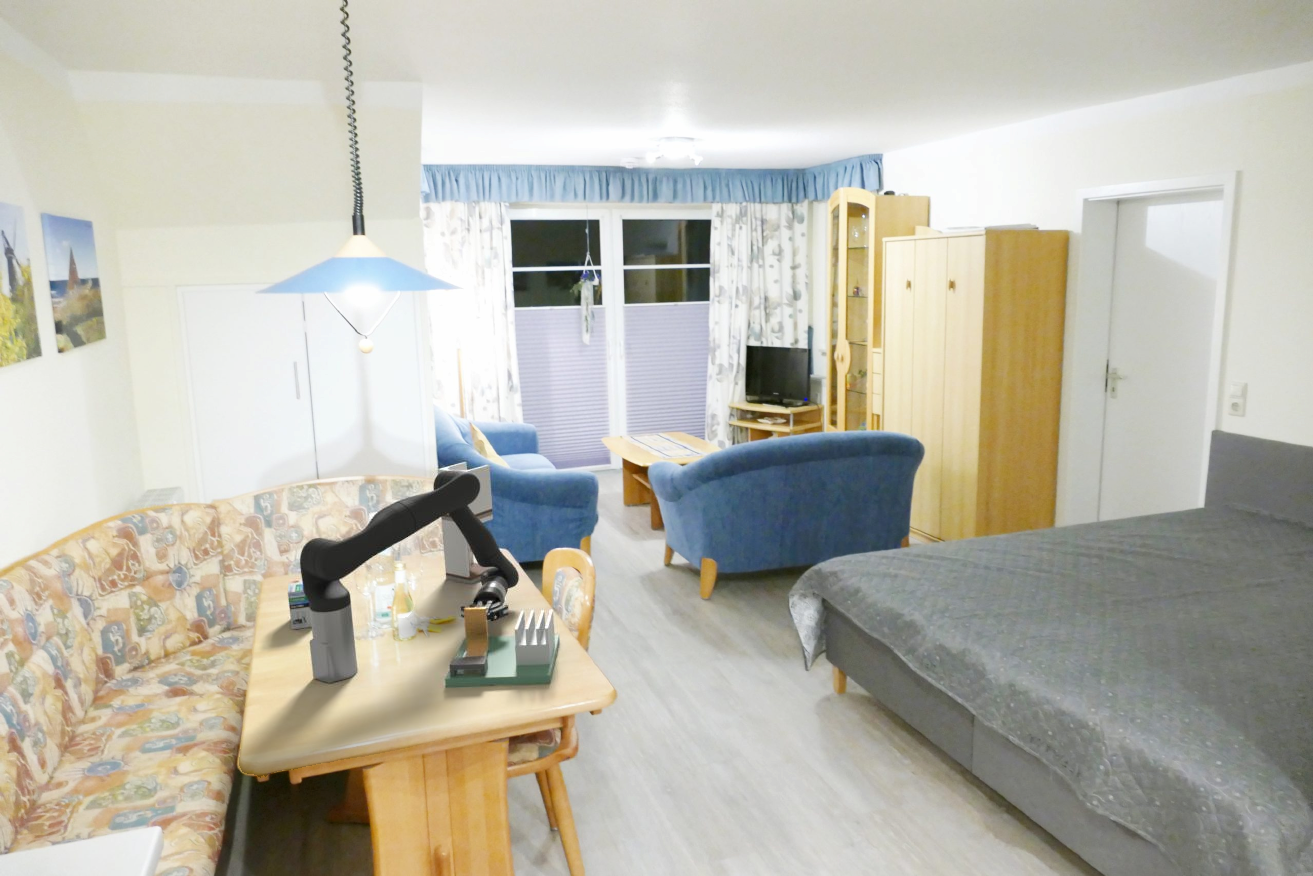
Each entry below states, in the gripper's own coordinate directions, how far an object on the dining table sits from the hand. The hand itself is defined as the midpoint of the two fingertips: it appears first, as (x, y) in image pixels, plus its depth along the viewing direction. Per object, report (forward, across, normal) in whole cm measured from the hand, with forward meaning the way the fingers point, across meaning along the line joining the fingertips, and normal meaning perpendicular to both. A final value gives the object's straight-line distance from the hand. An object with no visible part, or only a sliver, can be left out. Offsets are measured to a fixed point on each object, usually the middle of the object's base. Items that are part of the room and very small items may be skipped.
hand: (478, 623), depth 226 cm
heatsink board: (+6, +7, +8) cm, 12 cm away
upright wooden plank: (+6, 0, +6) cm, 8 cm away
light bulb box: (-26, -53, +8) cm, 60 cm away
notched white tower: (-60, -13, +8) cm, 62 cm away
